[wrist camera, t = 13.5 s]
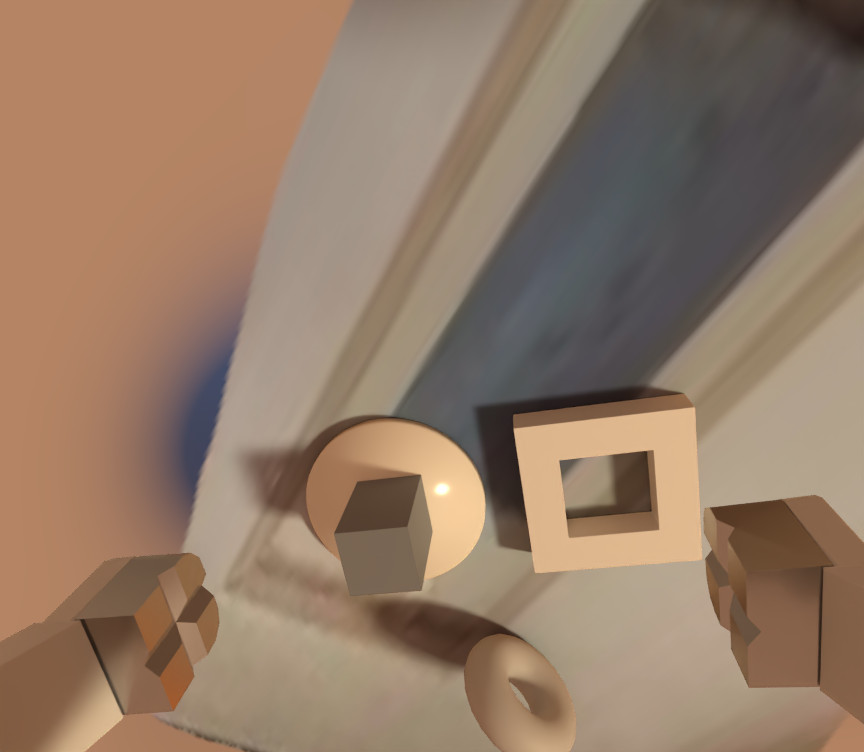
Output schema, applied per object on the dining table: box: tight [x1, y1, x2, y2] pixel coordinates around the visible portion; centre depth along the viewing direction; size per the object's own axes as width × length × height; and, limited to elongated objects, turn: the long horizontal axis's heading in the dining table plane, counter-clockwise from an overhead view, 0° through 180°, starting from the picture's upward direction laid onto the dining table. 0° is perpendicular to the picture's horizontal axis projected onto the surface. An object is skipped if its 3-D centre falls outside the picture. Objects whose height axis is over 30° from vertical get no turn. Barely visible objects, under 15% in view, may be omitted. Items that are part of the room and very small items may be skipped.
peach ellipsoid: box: [306, 418, 486, 580], centre depth 48 cm, size 14×14×1 cm
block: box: [334, 475, 433, 596], centre depth 44 cm, size 5×5×7 cm
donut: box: [464, 634, 576, 752], centre depth 47 cm, size 10×4×10 cm, turn 54°
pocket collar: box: [513, 394, 702, 573], centre depth 45 cm, size 12×12×2 cm
